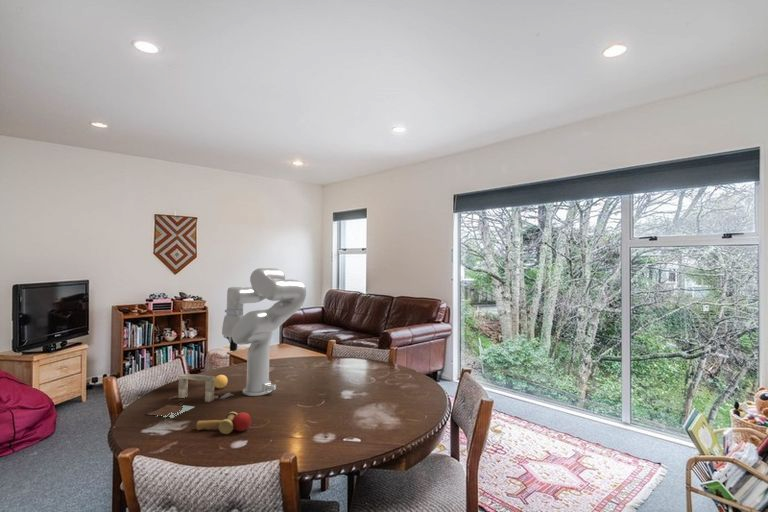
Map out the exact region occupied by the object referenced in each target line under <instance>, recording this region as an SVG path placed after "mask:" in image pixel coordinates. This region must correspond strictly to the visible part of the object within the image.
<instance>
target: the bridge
mask: <svg viewBox="0 0 768 512" xmlns="http://www.w3.org/2000/svg"><path fill="white" fill-rule="evenodd" d="M215 377H216V376H213V375H203V374H195V373H194V374H191V373H182V374H179V375H178V392H177V393H178V396H177V399H178V398H184V399H186V398H187V397H188V392H189V391H188V389H189V385H188V384H189V380H192V381H201V382H202V381H203V382H205V388H204V389H205V391H204V392H205V394H204V402H205V403H210V402H213V401H214V400H215V386H214V382H215ZM185 397H186V398H185Z"/></svg>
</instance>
